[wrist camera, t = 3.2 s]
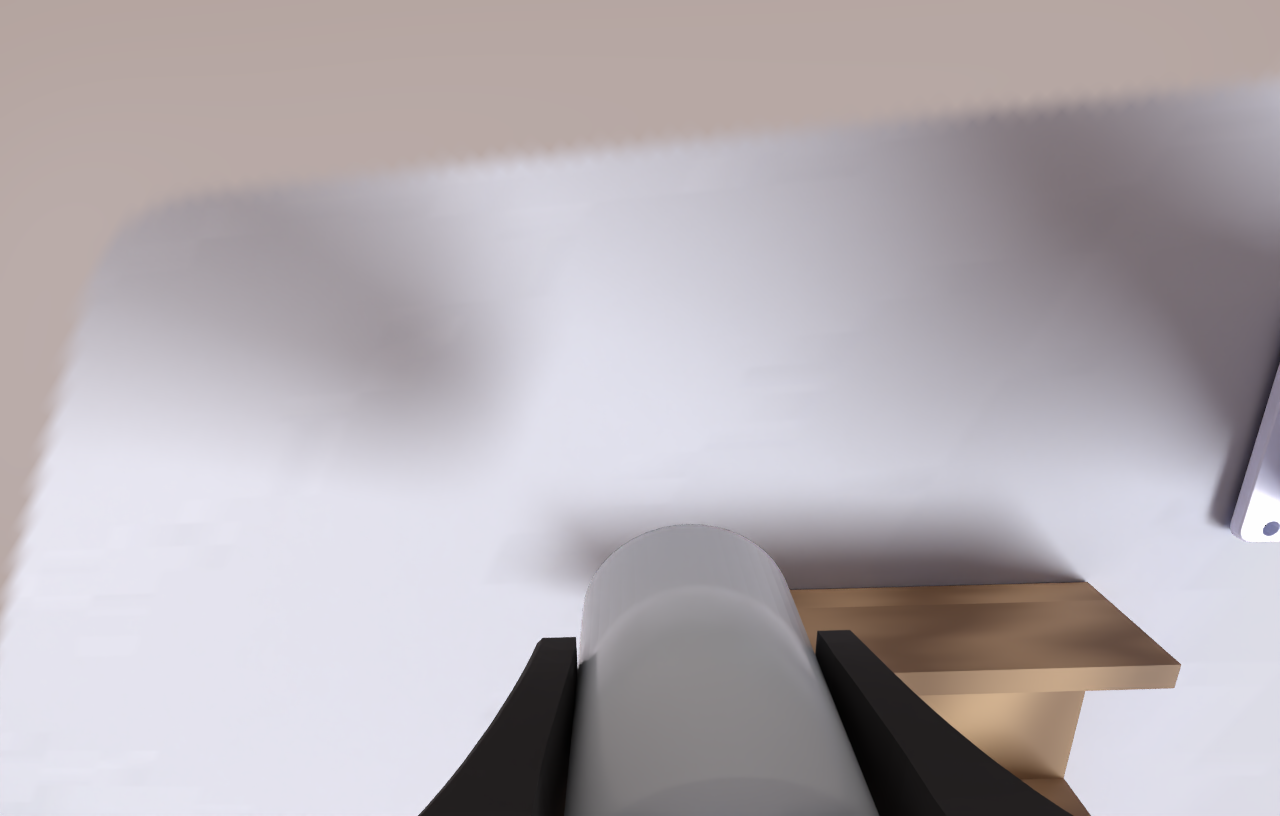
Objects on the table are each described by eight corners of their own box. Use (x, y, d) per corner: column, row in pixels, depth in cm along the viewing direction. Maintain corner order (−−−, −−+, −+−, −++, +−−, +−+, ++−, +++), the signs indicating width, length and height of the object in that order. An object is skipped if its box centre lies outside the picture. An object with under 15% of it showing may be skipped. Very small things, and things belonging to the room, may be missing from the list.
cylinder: (797, 521, 14) (922, 771, 8) (785, 697, 15) (882, 1015, 9) (578, 526, 14) (545, 782, 8) (586, 703, 15) (564, 1027, 9)
